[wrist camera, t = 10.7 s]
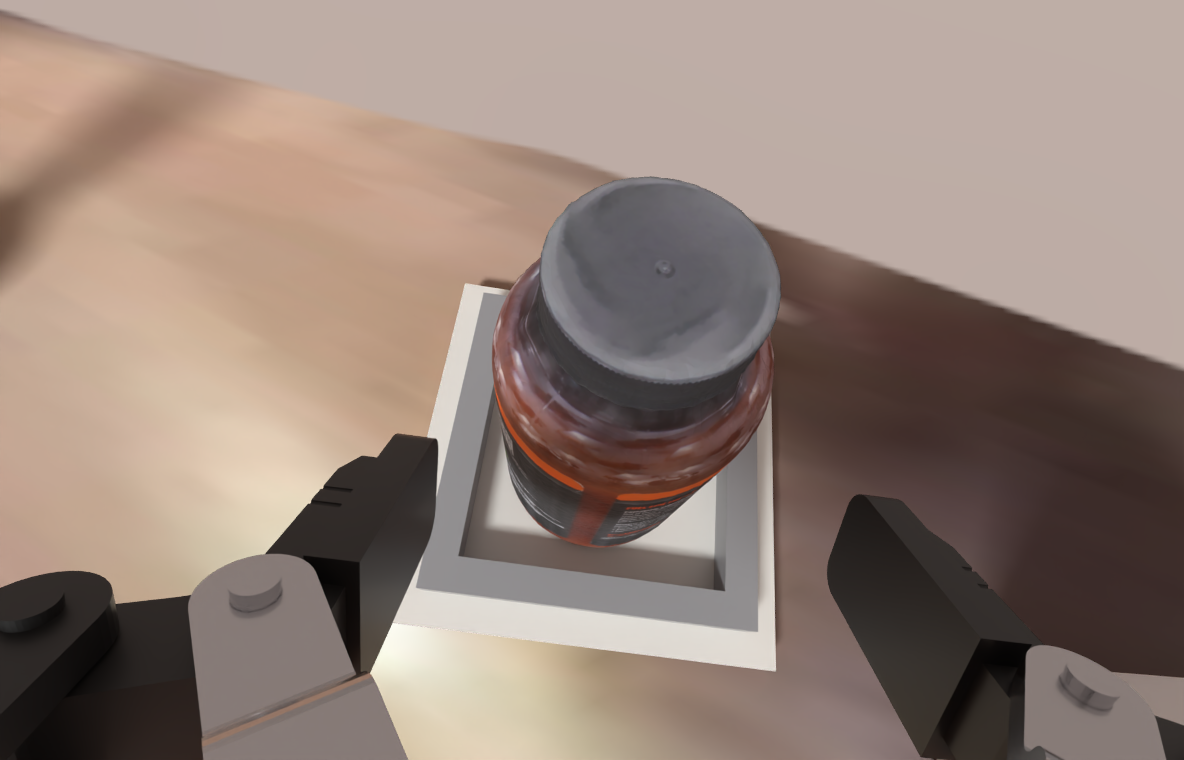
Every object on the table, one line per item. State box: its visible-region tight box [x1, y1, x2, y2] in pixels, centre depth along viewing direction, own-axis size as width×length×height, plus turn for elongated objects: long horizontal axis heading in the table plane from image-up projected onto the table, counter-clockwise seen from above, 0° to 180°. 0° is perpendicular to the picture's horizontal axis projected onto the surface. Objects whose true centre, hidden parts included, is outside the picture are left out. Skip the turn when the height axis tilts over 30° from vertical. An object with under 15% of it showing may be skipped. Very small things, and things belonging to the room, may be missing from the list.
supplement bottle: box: [492, 177, 781, 548], centre depth 14 cm, size 6×6×11 cm
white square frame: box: [393, 283, 776, 671], centre depth 19 cm, size 12×12×2 cm
